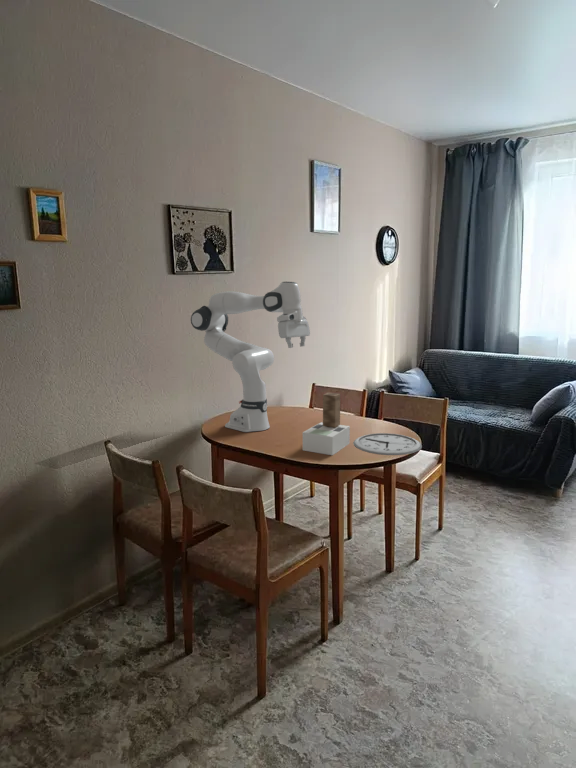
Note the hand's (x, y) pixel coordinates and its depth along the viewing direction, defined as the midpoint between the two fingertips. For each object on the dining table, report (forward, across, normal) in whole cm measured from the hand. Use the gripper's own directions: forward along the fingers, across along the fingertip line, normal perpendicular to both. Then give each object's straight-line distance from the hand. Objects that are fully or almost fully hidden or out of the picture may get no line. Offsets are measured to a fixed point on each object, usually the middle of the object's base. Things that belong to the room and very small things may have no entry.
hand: (296, 347), depth 244 cm
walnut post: (+36, +2, +15) cm, 39 cm away
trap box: (+45, +7, +14) cm, 47 cm away
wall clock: (+48, -11, +34) cm, 60 cm away
